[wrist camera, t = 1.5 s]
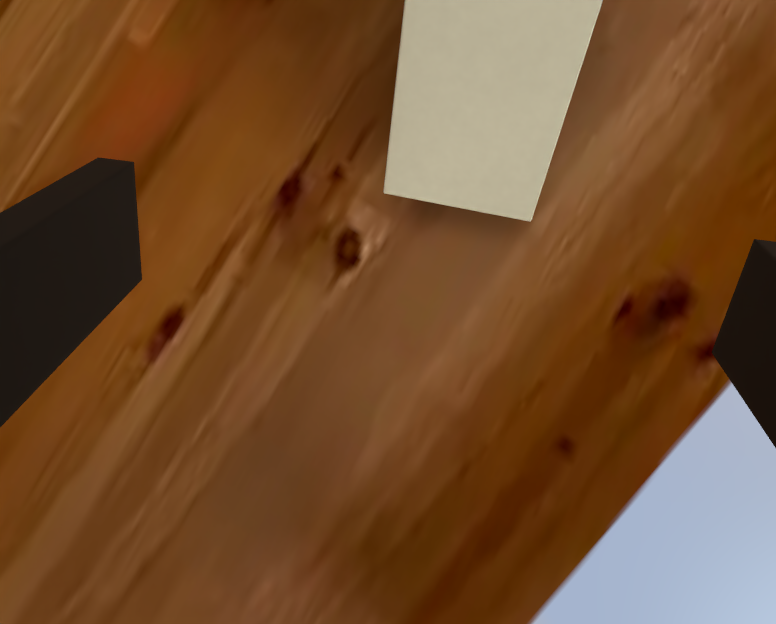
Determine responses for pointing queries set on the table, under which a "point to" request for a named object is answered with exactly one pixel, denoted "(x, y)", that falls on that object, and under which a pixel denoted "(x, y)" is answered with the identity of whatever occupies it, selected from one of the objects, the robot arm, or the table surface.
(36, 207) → the robot arm
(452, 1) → the red-faced cream slab
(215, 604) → the table surface
